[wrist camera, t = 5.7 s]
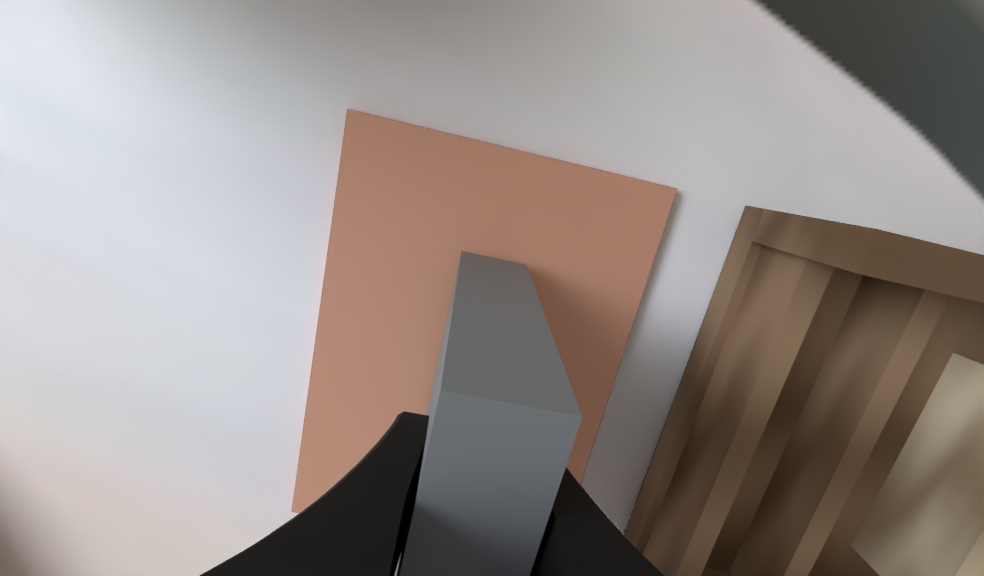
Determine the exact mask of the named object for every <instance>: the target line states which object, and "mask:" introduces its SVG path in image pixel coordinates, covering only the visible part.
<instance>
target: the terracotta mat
mask: <svg viewBox="0 0 984 576" xmlns="http://www.w3.org/2000/svg"><path fill="white" fill-rule="evenodd" d="M676 191H677V189H676V188H672V187H668V186H664V185H660V184H656V183H652V182H648V181H643V180H639V179H635V178H631V177H627V176H623V175H619V174H614V173H610V172H606V171H602V170H598V169H594V168H590V167H586V166H581V165H577V164H573V163H569V162H565V161H561V160H557V159H552V158H548V157H544V156H540V155H536V154H532V153H528V152H524V151H519V150H515V149H511V148H507V147H503V146H499V145H495V144H490V143H486V142H482V141H478V140H474V139H470V138H466V137H462V136H457V135H453V134H449V133H445V132H441V131H437V130H433V129H428V128H424V127H420V126H416V125H412V124H408V123H404V122H400V121H395V120H391V119H387V118H383V117H379V116H375V115H371V114H366V113H362V112H358V111H354V110H350V109H347V115H346V123H345V130H344V137H343V144H342V151H341V159H340V166H339V173H338V180H337V188H336V195H335V202H334V209H333V216H332V224H331V231H330V238H329V245H328V252H327V260H326V267H325V274H324V281H323V288H322V296H321V303H320V310H319V317H318V324H317V332H316V339H315V346H314V353H313V360H312V368H311V375H310V382H309V389H308V397H307V404H306V411H305V418H304V425H303V433H302V440H301V447H300V454H299V461H298V469H297V476H296V483H295V490H294V497H293V505H292V512H296V513H301V512H302V511H303V510H305V509H306V508H307V507H308V506H310V505H311V504H312V503H314V502H315V501H316V500H317V499H319V498H320V497H321V496H322V495H324V494H325V493H326V492H327V491H328V490H329V489H331V488H332V487H333V486H334V485H335V484H336V483H337V482H338V481H340V480H341V479H342V478H343V477H344V476H345V475H346V474H347V473H348V472H349V471H350V470H351V469H352V468H354V467H355V466H356V465H357V464H358V463H359V462H360V461H361V460H362V459H363V457H364V456H365V455H366V454H367V453H368V452H369V451H370V450H371V449H372V448H373V447H374V446H375V445H376V443H377V442H378V441H379V440H380V439H381V438H382V436H383V435H384V434H385V433H386V432H387V430H388V429H389V428H390V426H391V425H392V423H393V422H394V421H395V419H396V417H397V415H398V414H400V413H402V412H403V411H405V412H411V413H416V414H422V415H426V413H427V408H428V404H429V399H430V394H431V390H432V385H433V381H434V376H435V371H436V367H437V362H438V357H439V353H440V348H441V343H442V339H443V334H444V329H445V325H446V320H447V315H448V311H449V306H450V301H451V297H452V292H453V288H454V283H455V278H456V274H457V269H458V264H459V260H460V255H461V251H465V252H469V253H474V254H479V255H483V256H488V257H492V258H497V259H502V260H506V261H511V262H516V263H520V264H525V265H527V268H528V271H529V273H530V276H531V279H532V282H533V284H534V287H535V290H536V292H537V295H538V298H539V300H540V303H541V306H542V309H543V311H544V314H545V317H546V319H547V322H548V325H549V328H550V330H551V333H552V336H553V338H554V341H555V344H556V346H557V349H558V352H559V355H560V357H561V360H562V363H563V365H564V368H565V371H566V373H567V376H568V379H569V382H570V384H571V387H572V390H573V392H574V395H575V398H576V400H577V403H578V406H579V409H580V411H581V414H582V420H581V423H580V426H579V429H578V432H577V435H576V438H575V441H574V444H573V447H572V450H571V453H570V456H569V459H568V462H567V465H566V467H567V469H568V470H569V471H570V473H571V474H572V475H573V476H574V478H575V479H576V480H577V482H578V483H579V484H581V481H582V478H583V475H584V472H585V469H586V466H587V463H588V460H589V456H590V453H591V450H592V447H593V444H594V441H595V438H596V435H597V432H598V429H599V426H600V423H601V420H602V417H603V414H604V411H605V408H606V405H607V402H608V399H609V395H610V392H611V389H612V386H613V383H614V380H615V377H616V374H617V371H618V368H619V365H620V362H621V359H622V356H623V353H624V350H625V347H626V344H627V341H628V338H629V335H630V331H631V328H632V325H633V322H634V319H635V316H636V313H637V310H638V307H639V304H640V301H641V298H642V295H643V292H644V289H645V286H646V283H647V280H648V277H649V274H650V270H651V267H652V264H653V261H654V258H655V255H656V252H657V249H658V246H659V243H660V240H661V237H662V234H663V231H664V228H665V225H666V222H667V219H668V216H669V213H670V209H671V206H672V203H673V200H674V197H675V194H676Z"/></svg>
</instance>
